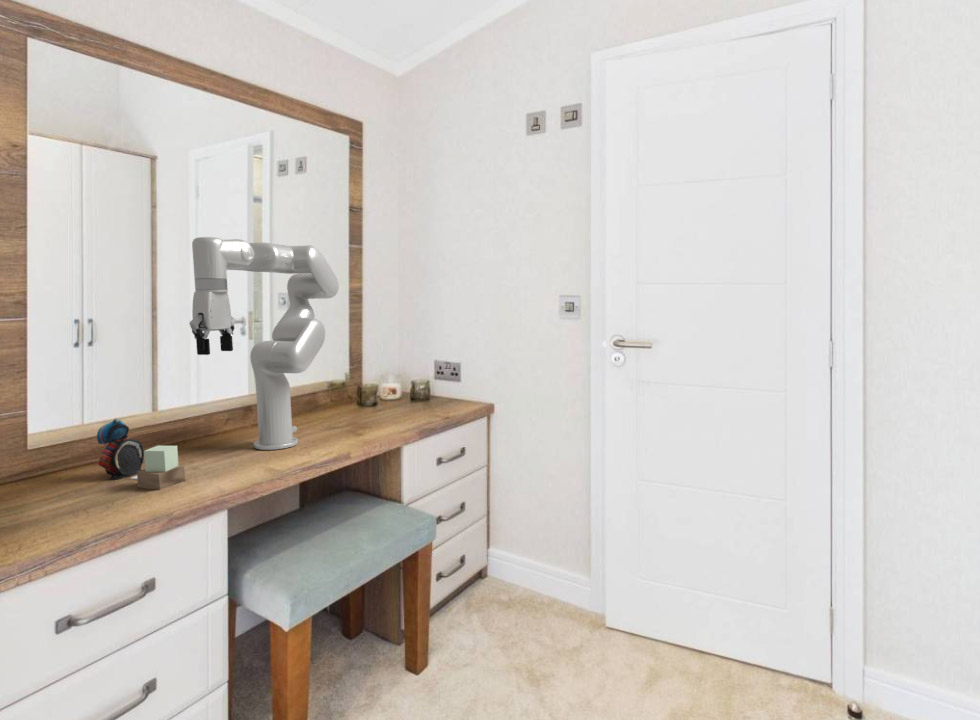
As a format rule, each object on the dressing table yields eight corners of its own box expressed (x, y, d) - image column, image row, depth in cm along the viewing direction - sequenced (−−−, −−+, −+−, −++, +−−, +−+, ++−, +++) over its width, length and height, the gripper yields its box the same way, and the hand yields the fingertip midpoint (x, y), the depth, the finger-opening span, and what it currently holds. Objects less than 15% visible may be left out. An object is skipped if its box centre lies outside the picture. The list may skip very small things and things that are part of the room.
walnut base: (163, 479, 143) (162, 463, 142) (185, 481, 140) (184, 466, 140) (138, 488, 136) (136, 471, 136) (160, 491, 134) (158, 474, 133)
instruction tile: (153, 469, 150) (153, 468, 150) (171, 470, 149) (170, 468, 149) (130, 479, 142) (130, 477, 142) (148, 480, 141) (148, 478, 141)
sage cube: (158, 465, 141) (157, 445, 140) (178, 465, 140) (177, 445, 140) (145, 471, 136) (143, 450, 135) (165, 471, 135) (164, 451, 135)
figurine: (131, 468, 152) (126, 412, 150) (149, 470, 149) (145, 414, 147) (92, 479, 142) (87, 420, 141) (111, 482, 140) (106, 422, 138)
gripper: (218, 287, 156) (222, 349, 158) (174, 286, 139) (180, 356, 141) (244, 286, 155) (247, 349, 157) (203, 285, 138) (208, 356, 140)
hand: (215, 352), depth 149 cm, fingers open, 9 cm apart
